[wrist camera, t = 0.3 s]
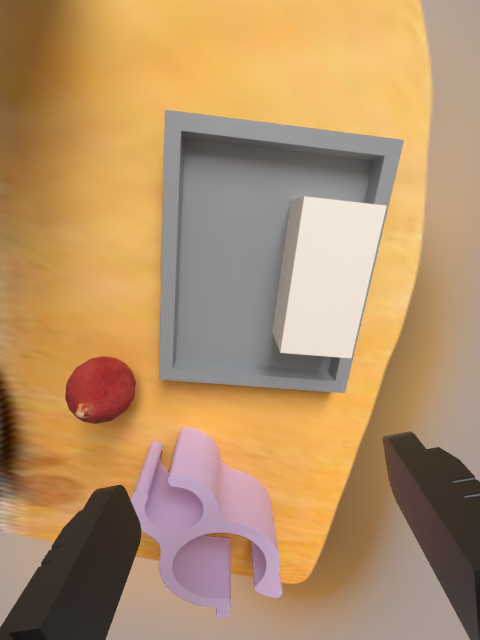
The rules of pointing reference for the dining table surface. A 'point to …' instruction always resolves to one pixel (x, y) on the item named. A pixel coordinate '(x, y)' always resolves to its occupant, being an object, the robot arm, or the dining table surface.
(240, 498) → the clip
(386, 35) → the dining table surface
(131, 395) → the onion
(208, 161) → the tray
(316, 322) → the white box
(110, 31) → the dining table surface
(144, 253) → the dining table surface
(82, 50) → the dining table surface
